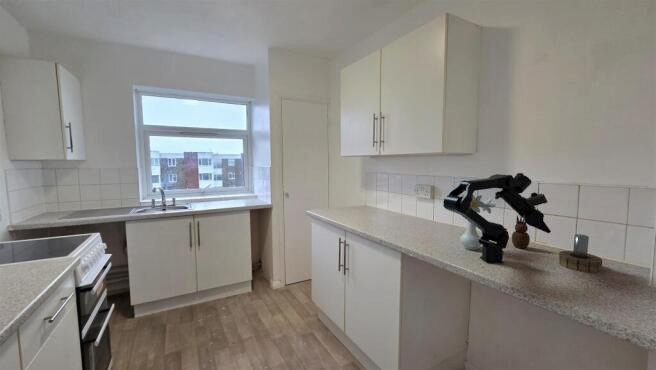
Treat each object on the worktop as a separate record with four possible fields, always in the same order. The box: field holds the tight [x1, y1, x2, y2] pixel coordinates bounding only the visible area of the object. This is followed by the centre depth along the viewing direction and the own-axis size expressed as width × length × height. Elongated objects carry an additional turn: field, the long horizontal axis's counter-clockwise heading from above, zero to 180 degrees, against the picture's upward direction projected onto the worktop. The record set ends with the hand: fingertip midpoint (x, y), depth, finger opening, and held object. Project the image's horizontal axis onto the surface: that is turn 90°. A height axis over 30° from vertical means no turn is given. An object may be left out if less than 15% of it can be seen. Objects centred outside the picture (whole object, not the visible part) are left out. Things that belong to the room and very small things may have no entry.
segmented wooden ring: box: [558, 250, 603, 274], centre depth 107 cm, size 12×12×4 cm
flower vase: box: [459, 193, 496, 251], centre depth 130 cm, size 13×18×25 cm
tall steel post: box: [572, 233, 590, 259], centre depth 107 cm, size 4×4×12 cm
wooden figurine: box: [511, 214, 531, 250], centre depth 129 cm, size 7×6×15 cm
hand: (546, 229), depth 110 cm, fingers open, 9 cm apart
